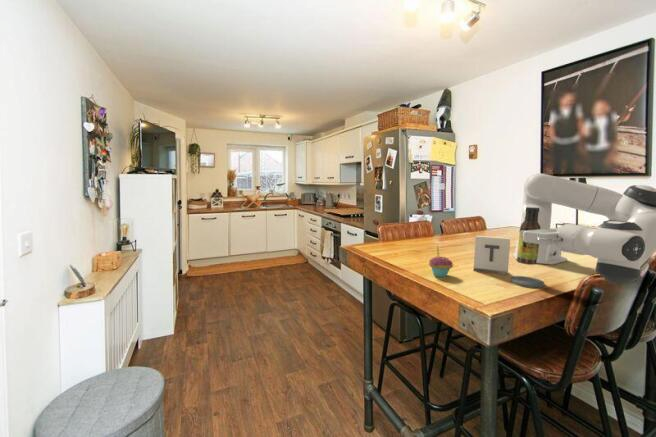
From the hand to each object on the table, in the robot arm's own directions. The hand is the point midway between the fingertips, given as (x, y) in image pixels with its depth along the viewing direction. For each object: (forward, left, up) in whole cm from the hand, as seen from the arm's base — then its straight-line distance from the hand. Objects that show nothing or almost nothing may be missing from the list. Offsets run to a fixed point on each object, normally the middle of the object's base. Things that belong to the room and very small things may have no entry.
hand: (528, 232), depth 112 cm
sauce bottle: (0, 0, -11) cm, 11 cm away
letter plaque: (0, -15, -18) cm, 23 cm away
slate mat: (0, +1, -18) cm, 18 cm away
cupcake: (+22, -18, -18) cm, 34 cm away
